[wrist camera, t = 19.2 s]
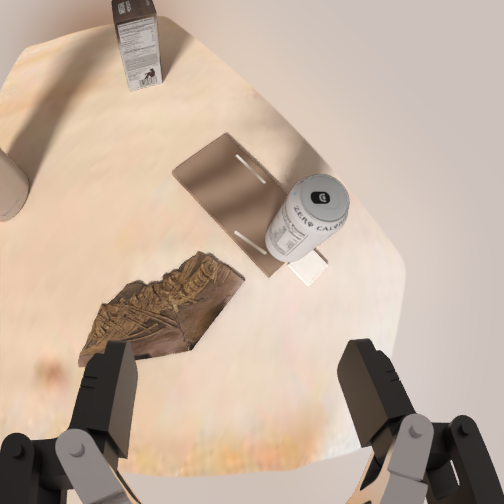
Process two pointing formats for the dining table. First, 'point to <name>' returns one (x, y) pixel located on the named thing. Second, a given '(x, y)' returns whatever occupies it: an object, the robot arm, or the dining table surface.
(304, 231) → the energy drink can
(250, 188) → the walnut board
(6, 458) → the robot arm
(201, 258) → the wooden fragment
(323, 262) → the white square tile
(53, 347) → the dining table surface
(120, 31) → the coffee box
